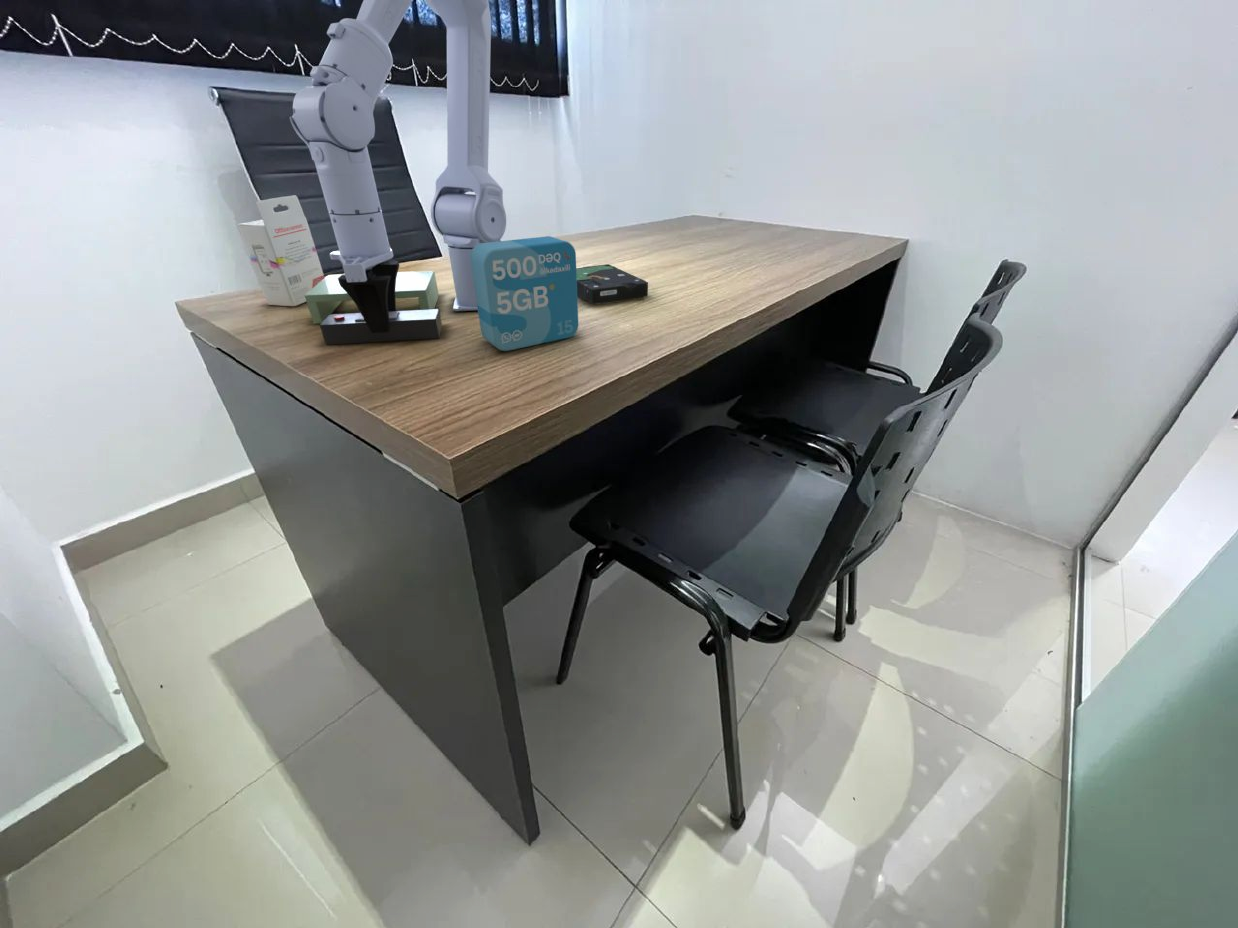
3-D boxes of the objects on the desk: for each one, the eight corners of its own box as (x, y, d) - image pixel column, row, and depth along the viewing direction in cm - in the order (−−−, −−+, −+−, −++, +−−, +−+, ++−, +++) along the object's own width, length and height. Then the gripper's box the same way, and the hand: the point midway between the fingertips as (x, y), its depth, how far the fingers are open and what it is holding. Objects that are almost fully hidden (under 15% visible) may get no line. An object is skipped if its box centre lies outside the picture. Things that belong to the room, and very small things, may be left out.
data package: (495, 354, 63) (482, 250, 56) (481, 343, 66) (467, 244, 60) (579, 336, 69) (576, 240, 62) (563, 327, 72) (558, 234, 65)
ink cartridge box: (304, 291, 87) (272, 193, 79) (330, 293, 86) (300, 194, 78) (265, 305, 80) (226, 200, 72) (293, 307, 79) (256, 201, 71)
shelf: (438, 295, 85) (434, 270, 83) (431, 317, 75) (425, 290, 73) (335, 300, 82) (328, 274, 80) (313, 324, 72) (304, 295, 70)
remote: (442, 327, 71) (438, 306, 70) (439, 338, 68) (435, 316, 66) (335, 333, 69) (328, 312, 67) (325, 345, 65) (318, 322, 64)
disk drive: (649, 299, 84) (608, 278, 95) (650, 282, 83) (608, 262, 94) (592, 307, 80) (556, 284, 91) (592, 289, 79) (555, 268, 89)
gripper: (335, 205, 65) (363, 310, 73) (299, 222, 54) (337, 346, 61) (393, 204, 67) (415, 308, 74) (370, 220, 55) (399, 342, 62)
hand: (384, 325), depth 68 cm, fingers closed on remote, 4 cm apart
